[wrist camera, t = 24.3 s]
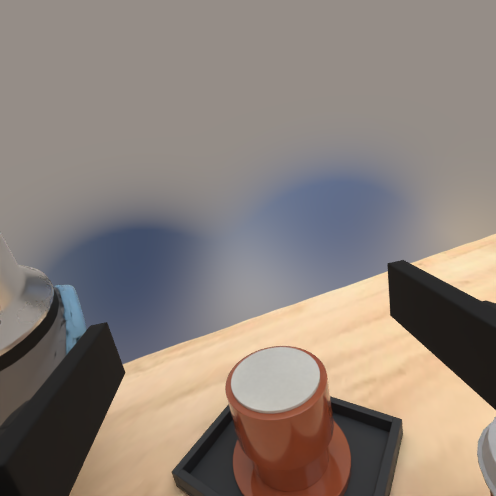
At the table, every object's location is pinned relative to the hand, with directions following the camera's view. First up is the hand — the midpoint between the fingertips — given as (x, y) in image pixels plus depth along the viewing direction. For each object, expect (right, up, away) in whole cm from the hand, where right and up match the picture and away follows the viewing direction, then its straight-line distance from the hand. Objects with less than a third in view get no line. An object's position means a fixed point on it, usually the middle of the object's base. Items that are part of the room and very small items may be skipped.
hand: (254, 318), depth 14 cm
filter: (+4, -18, +17) cm, 25 cm away
